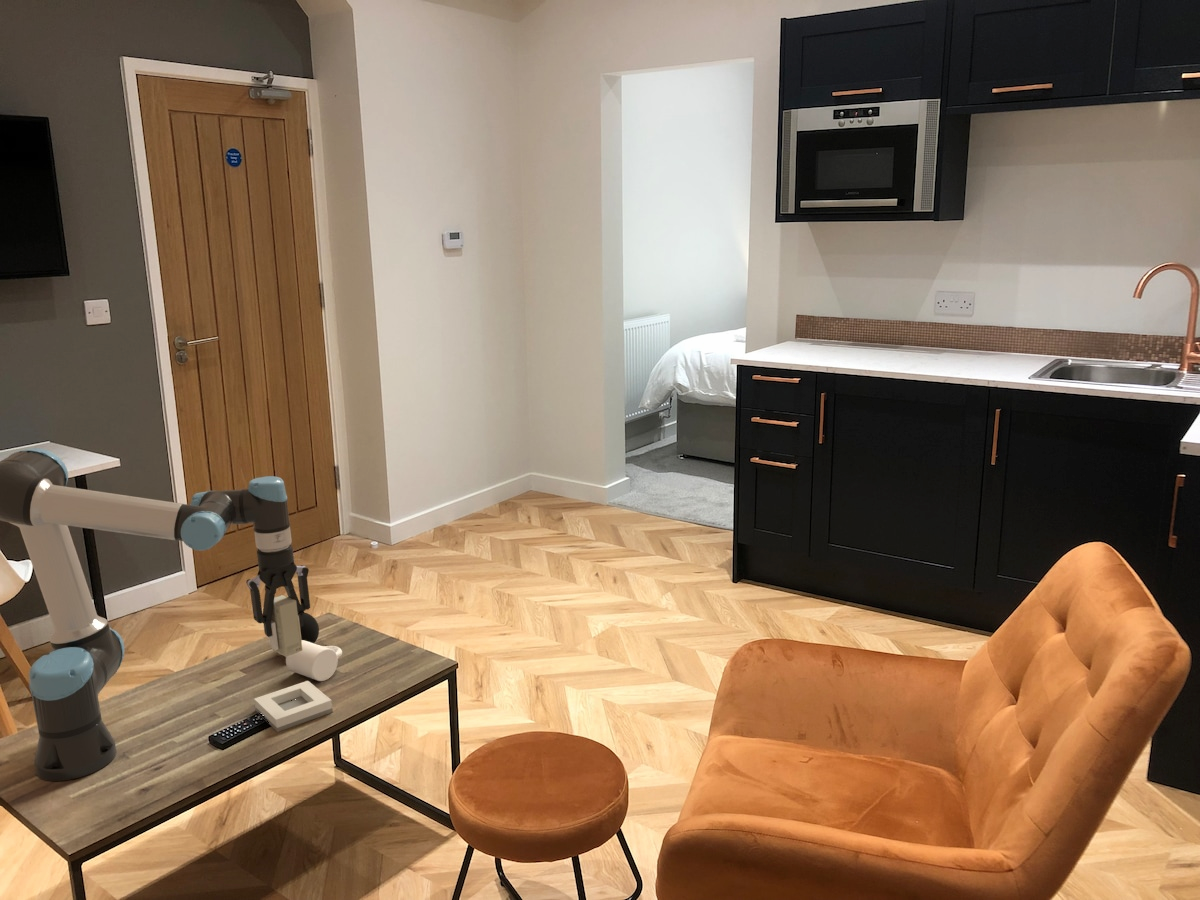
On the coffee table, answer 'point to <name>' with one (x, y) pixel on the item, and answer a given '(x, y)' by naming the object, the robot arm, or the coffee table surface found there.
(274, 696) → the socket block
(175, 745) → the coffee table surface
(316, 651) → the mug
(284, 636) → the skincare box
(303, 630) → the decorative ball
